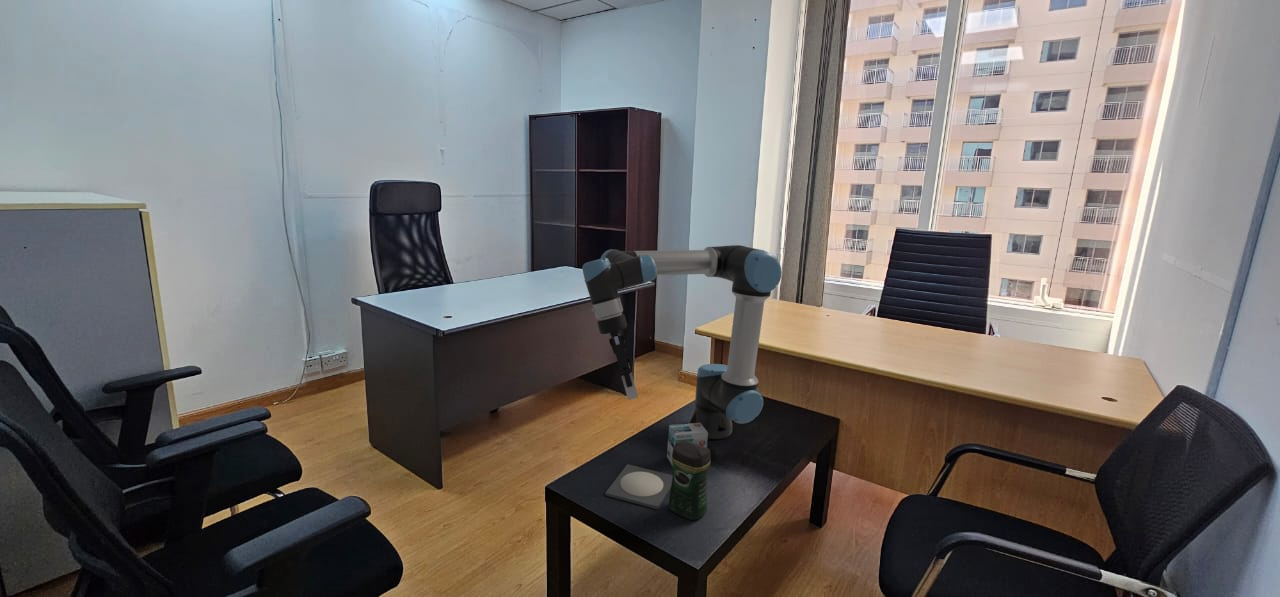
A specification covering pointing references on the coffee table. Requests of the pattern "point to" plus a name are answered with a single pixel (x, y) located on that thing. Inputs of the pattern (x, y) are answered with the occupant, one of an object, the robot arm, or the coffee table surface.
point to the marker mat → (641, 486)
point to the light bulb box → (686, 436)
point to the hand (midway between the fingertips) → (631, 392)
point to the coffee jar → (689, 479)
